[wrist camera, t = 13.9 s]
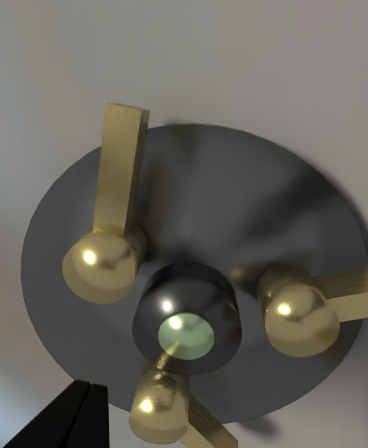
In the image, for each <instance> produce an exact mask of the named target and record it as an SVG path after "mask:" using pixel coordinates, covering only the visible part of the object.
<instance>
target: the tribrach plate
mask: <svg viewBox="0 0 368 448" xmlns="http://www.w3.org/2000/svg"><path fill="white" fill-rule="evenodd" d="M100 156H101V147H99V148H97V149H95V150H93V151H91V152H90V153H88V154H87V155H85V156H84V157H83V158H81V159H80V160H79V161H77V162H76V163H74V164H73V165H72V166H70V167H69V168H68V169H67V170H66V171H65V172H64V173H63V174H62V175H61V176H60V177H59V178H58V179H57V180H56V181H55V182H54V183H53V185H52V186H51V187H50V189H49V190H48V191H47V193H46V194H45V196H44V197H43V198H42V200H41V201H40V203H39V205H38V207H37V209H36V211H35V213H34V215H33V217H32V218H31V221H30V224H29V227H28V230H27V233H26V236H25V239H24V245H23V251H22V256H21V283H22V290H23V297H24V301H25V304H26V308H27V311H28V315H29V317H30V319H31V322H32V324H33V326H34V329H35V331H36V333H37V335H38V336H39V338H40V340H41V341H42V343H43V345H44V346H45V348H46V349H47V351H48V352H49V353H50V354H51V356H52V357H53V358H54V360H55V361H56V362H57V363H58V364H59V365H60V366H61V367H62V368H63V369H64V371H65V372H66V373H67V374H68V375H69V376H71V377H72V378H73V379H74V380H77V379H80V380H84V381H89V382H91V385H92V384H93V383H97V384H101V385H106V386H107V387H108V403H110V404H112V405H114V406H116V407H118V408H121V409H123V410H125V411H128V412H130V413H131V409H132V405H133V401H134V397H135V392H136V388H137V384H138V380H139V376H140V372H141V369H142V367H143V365H144V364H145V363H146V362H147V361H149V362H150V363H151V364H153V365H154V366H156V367H158V368H160V369H162V370H164V371H166V372H169V373H173V374H177V375H185V376H190V391H189V392H190V393H191V394H192V395H193V396H194V397H195V398H196V399H197V400H198V401H199V402H200V403H201V404H202V405H203V406H204V407H205V408H206V409H207V410H208V411H209V412H210V413H211V414H212V415H213V416H214V417H215V418H216V419H217V420H218V421H219V422H220V423H221V424H227V423H233V422H239V421H244V420H248V419H252V418H255V417H259V416H262V415H265V414H268V413H270V412H273V411H275V410H278V409H280V408H282V407H284V406H286V405H288V404H290V403H292V402H294V401H296V400H297V399H299V398H301V397H302V396H304V395H305V394H307V393H308V392H310V391H311V390H312V389H314V388H315V387H316V386H317V385H318V384H320V383H321V382H322V381H323V380H324V379H326V378H327V377H328V375H329V374H330V373H331V372H332V371H333V370H334V369H335V368H336V367H337V366H338V365H339V364H340V362H341V361H342V359H343V358H344V356H345V355H346V354H347V352H348V351H349V349H350V348H351V346H352V344H353V342H354V340H355V338H356V336H357V334H358V332H359V330H360V327H361V324H362V321H363V319H364V318H362V319H356V320H350V321H343V322H340V330H339V334H338V336H337V338H336V340H335V341H334V343H333V344H332V345H331V346H330V347H329V348H327V349H326V350H325V351H323V352H321V353H319V354H316V355H313V356H309V357H292V356H288V355H285V354H283V353H281V352H279V351H278V350H277V349H275V348H274V347H273V346H272V344H271V343H270V341H269V339H268V336H267V332H266V329H265V325H264V321H263V318H262V314H261V310H260V307H259V303H258V299H257V296H256V287H257V283H258V281H259V279H260V278H261V276H262V275H263V274H264V273H265V272H267V271H268V270H269V269H271V268H273V267H276V266H279V265H284V264H292V265H297V266H300V267H302V268H304V269H306V270H307V271H308V272H309V273H310V274H311V275H312V276H313V277H317V276H322V275H328V274H333V273H339V272H344V271H350V270H355V269H361V268H366V267H368V258H367V251H366V248H365V245H364V241H363V238H362V235H361V232H360V229H359V227H358V225H357V223H356V221H355V219H354V217H353V215H352V213H351V211H350V209H349V208H348V206H347V205H346V204H345V202H344V201H343V199H342V198H341V197H340V195H339V194H338V192H337V191H336V190H335V189H334V188H333V187H332V186H331V184H330V183H329V182H328V181H327V180H326V179H325V178H324V177H323V176H322V175H321V174H320V173H319V172H318V171H316V170H315V169H314V168H312V167H311V166H310V165H308V164H307V163H306V162H304V161H303V160H302V159H300V158H299V157H298V156H296V155H295V154H293V153H291V152H289V151H287V150H285V149H284V148H282V147H280V146H278V145H276V144H274V143H272V142H271V141H269V140H267V139H264V138H261V137H258V136H256V135H253V134H250V133H248V132H245V131H242V130H237V129H233V128H228V127H224V126H219V125H208V124H196V123H189V124H172V125H164V126H159V127H154V128H149V129H147V135H146V141H145V148H144V154H143V161H142V167H141V174H140V180H139V187H138V193H137V199H136V206H135V212H134V219H133V221H134V222H135V223H136V224H137V225H138V226H139V227H140V228H141V229H142V231H143V232H144V234H145V237H146V241H147V250H146V254H145V256H144V258H143V261H142V263H141V266H140V268H139V271H138V273H137V275H136V278H135V280H134V283H133V285H132V287H131V289H130V291H129V292H128V294H127V295H126V296H125V297H123V298H122V299H120V300H119V301H116V302H113V303H109V304H97V303H92V302H89V301H86V300H84V299H82V298H81V297H79V296H78V295H76V294H75V293H74V292H73V291H72V290H71V289H70V287H69V286H68V285H67V283H66V281H65V279H64V276H63V271H62V265H63V260H64V257H65V255H66V253H67V252H68V251H69V250H70V248H71V247H72V246H73V245H74V244H75V243H76V242H77V241H78V240H79V239H80V238H81V237H82V236H83V235H84V234H85V233H86V232H87V231H88V230H89V229H90V228H91V227H92V226H93V223H94V214H95V204H96V194H97V185H98V175H99V166H100Z"/></svg>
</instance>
